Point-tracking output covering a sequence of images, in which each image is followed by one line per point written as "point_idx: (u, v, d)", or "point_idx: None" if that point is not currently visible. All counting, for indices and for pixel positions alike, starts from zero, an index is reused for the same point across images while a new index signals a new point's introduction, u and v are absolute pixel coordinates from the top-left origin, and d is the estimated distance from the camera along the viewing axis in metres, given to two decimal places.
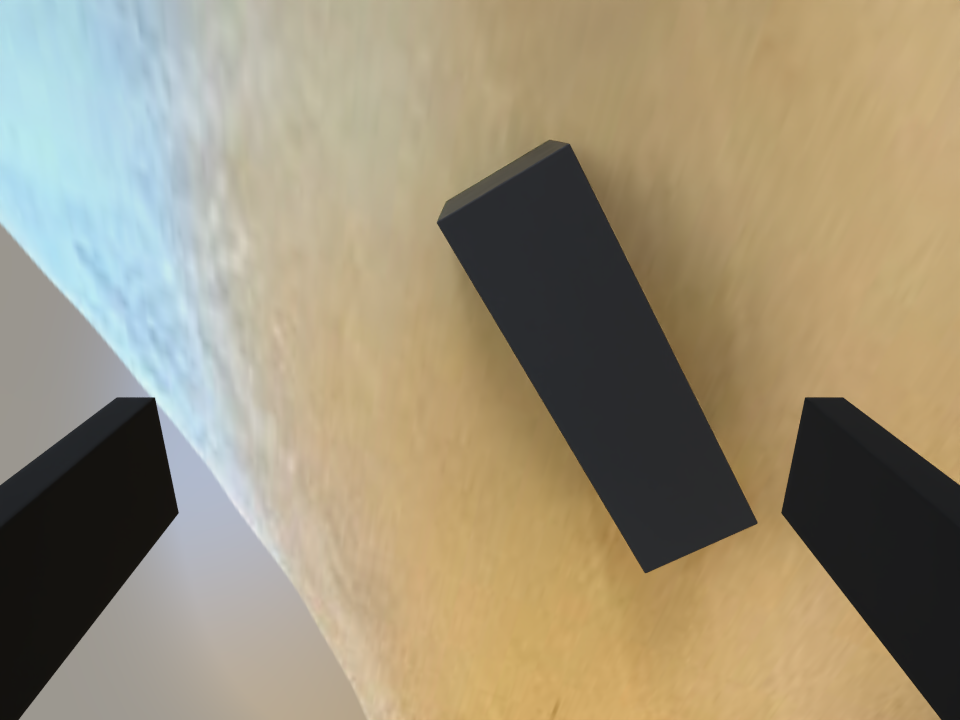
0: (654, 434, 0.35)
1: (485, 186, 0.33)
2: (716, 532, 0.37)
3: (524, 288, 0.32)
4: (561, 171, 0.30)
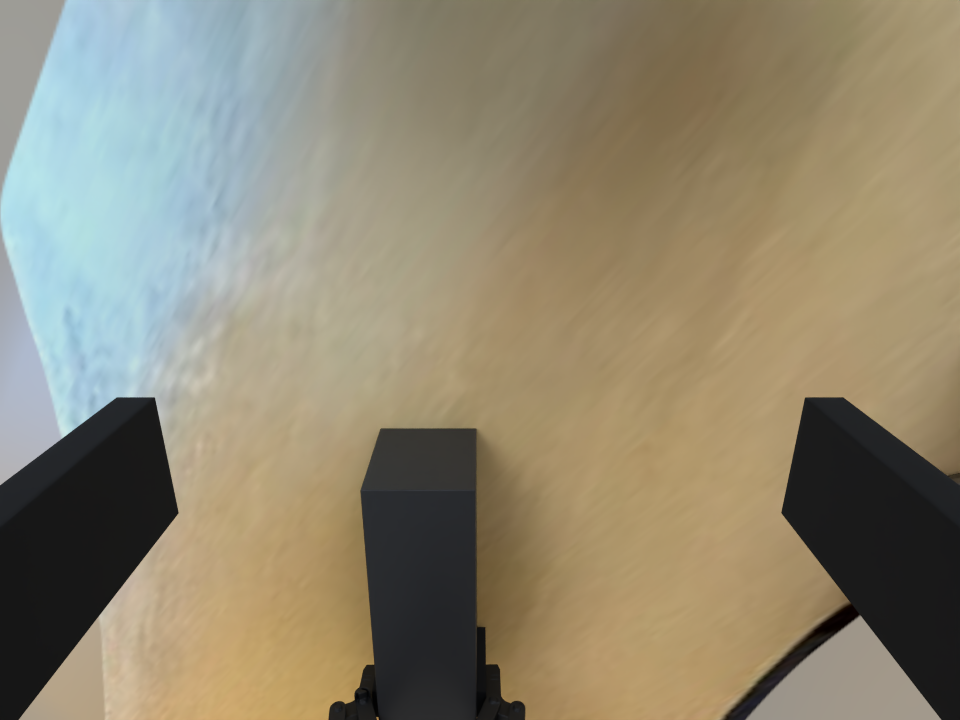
0: (436, 679, 0.45)
1: (409, 463, 0.42)
2: None
3: (398, 556, 0.41)
4: (461, 503, 0.40)
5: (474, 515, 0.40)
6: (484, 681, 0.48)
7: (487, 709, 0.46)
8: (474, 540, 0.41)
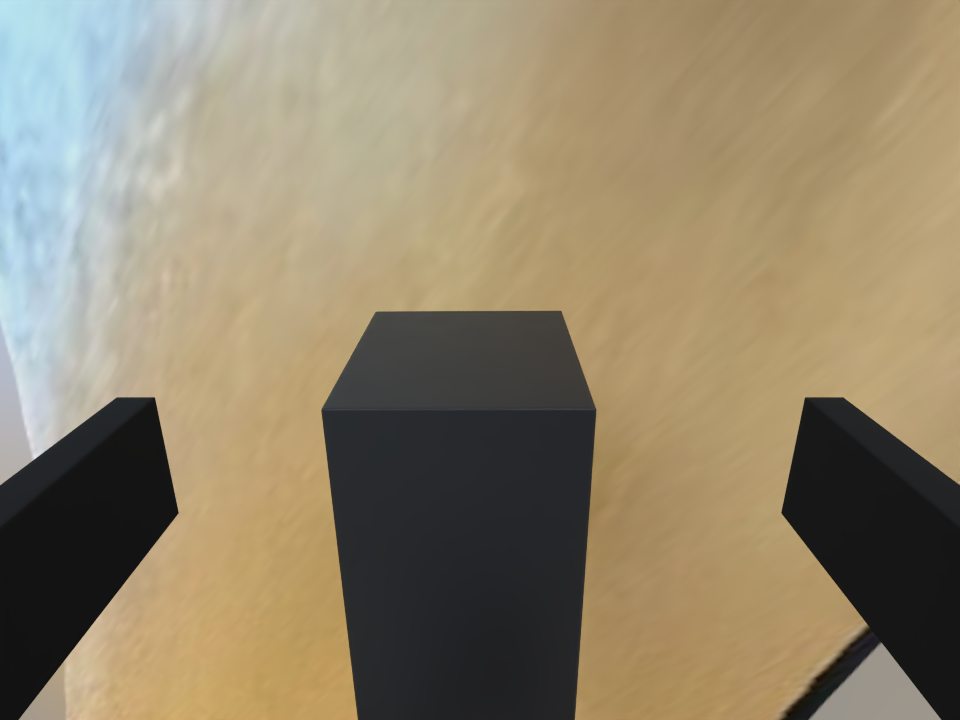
0: None
1: (436, 362, 0.19)
2: None
3: (411, 562, 0.18)
4: (560, 441, 0.17)
5: (589, 470, 0.17)
6: None
7: None
8: (585, 528, 0.18)
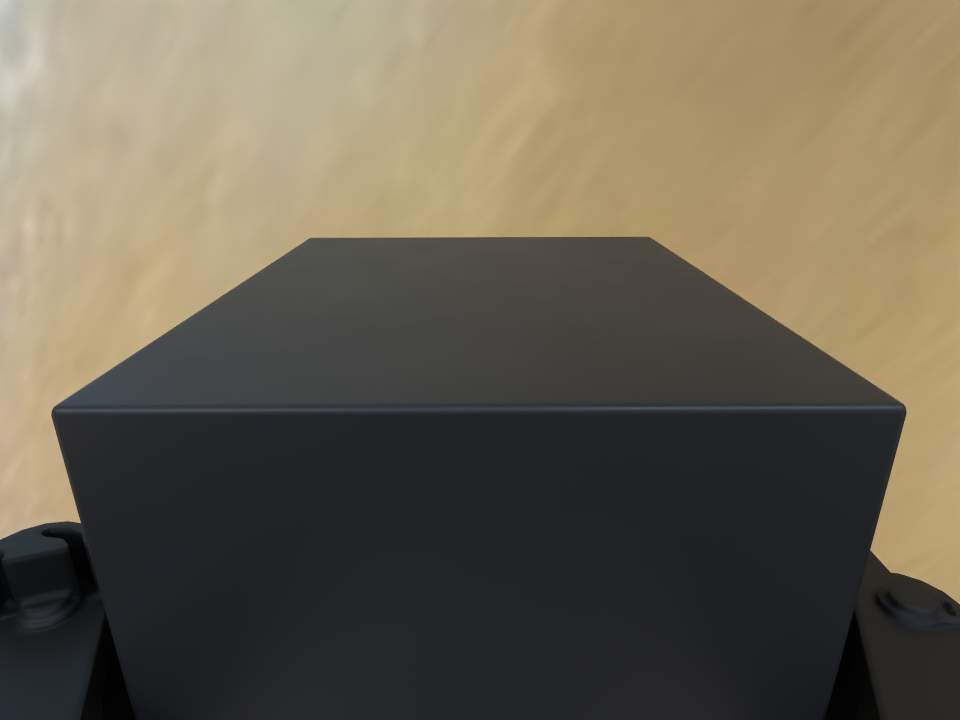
0: None
1: (415, 303, 0.08)
2: None
3: None
4: (784, 505, 0.06)
5: (854, 587, 0.06)
6: None
7: None
8: None
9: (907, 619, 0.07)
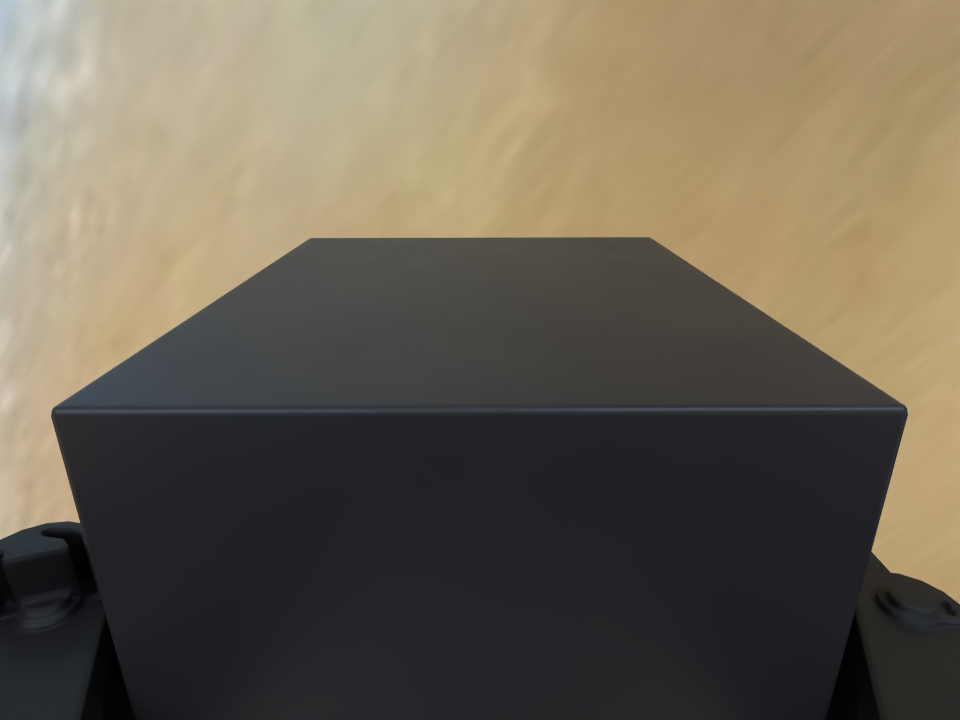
0: None
1: (416, 304, 0.08)
2: None
3: None
4: (786, 506, 0.06)
5: (855, 589, 0.06)
6: None
7: None
8: None
9: (906, 618, 0.07)
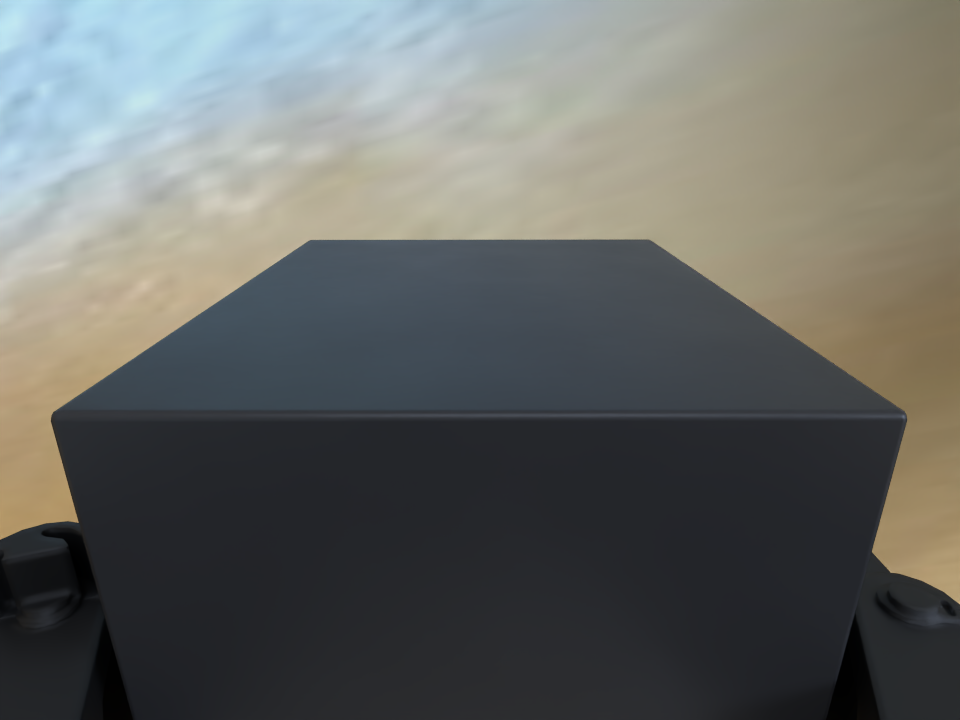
0: None
1: (415, 307, 0.08)
2: None
3: None
4: (784, 511, 0.06)
5: (854, 593, 0.06)
6: None
7: None
8: None
9: (906, 619, 0.07)
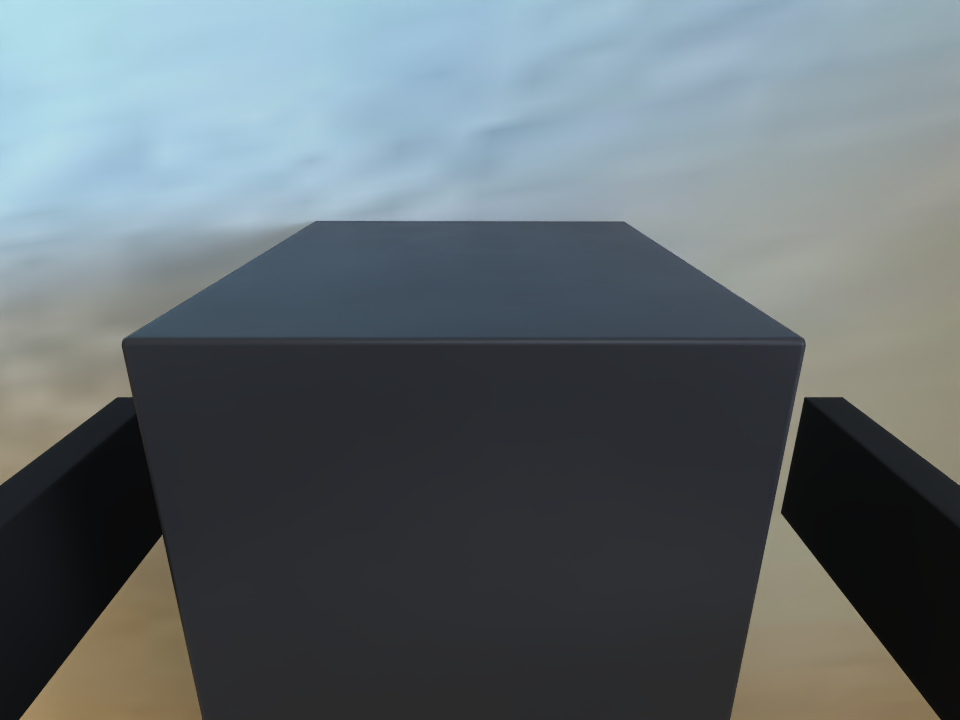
0: None
1: (413, 271, 0.10)
2: None
3: (356, 696, 0.08)
4: (712, 422, 0.07)
5: (771, 493, 0.07)
6: None
7: None
8: (744, 622, 0.08)
9: None
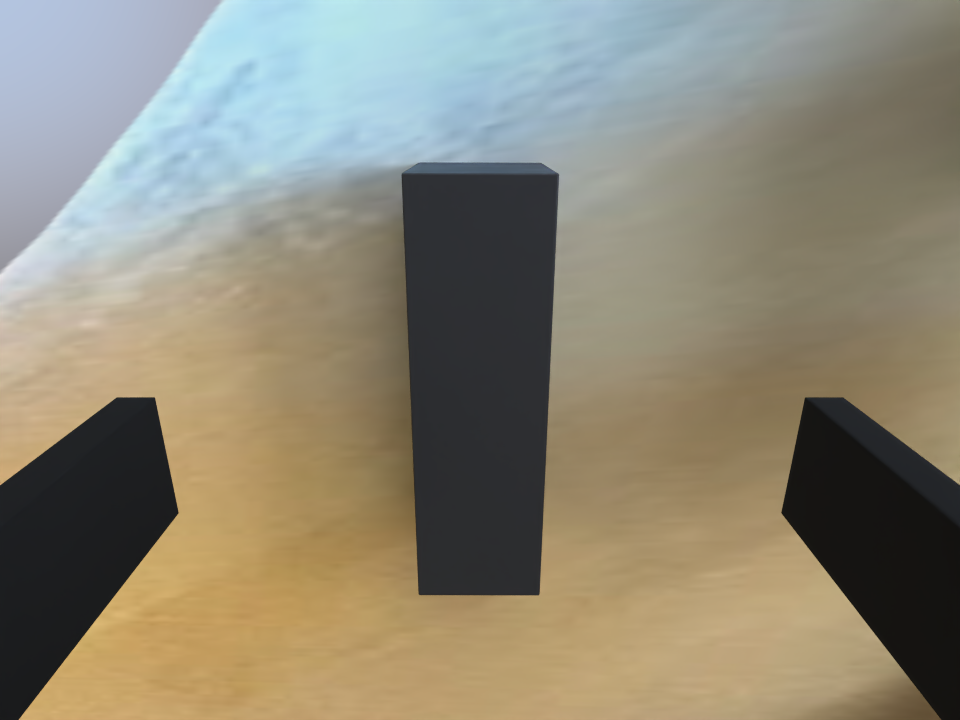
0: (493, 474, 0.34)
1: (463, 168, 0.32)
2: (500, 586, 0.37)
3: (449, 280, 0.31)
4: (538, 195, 0.29)
5: (555, 215, 0.29)
6: None
7: None
8: (553, 256, 0.30)
9: None
